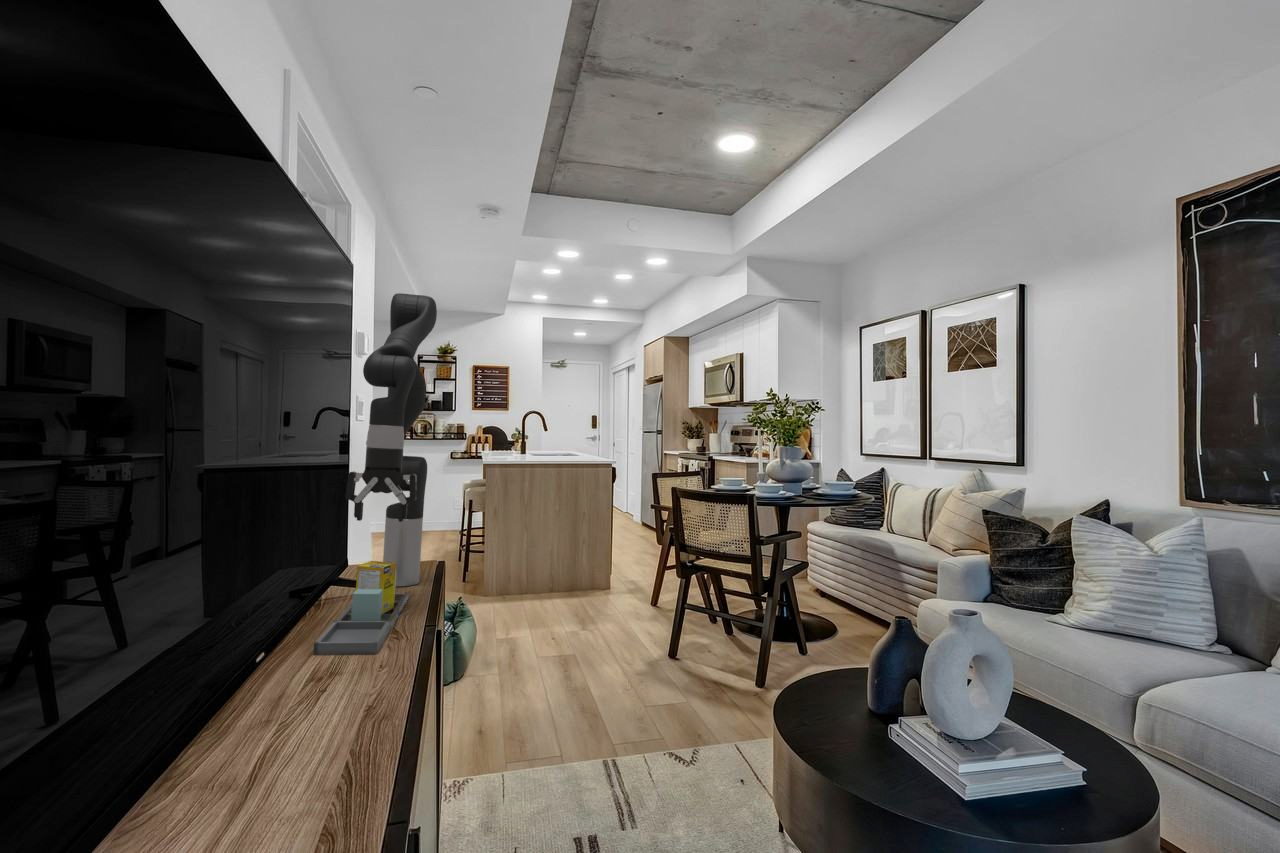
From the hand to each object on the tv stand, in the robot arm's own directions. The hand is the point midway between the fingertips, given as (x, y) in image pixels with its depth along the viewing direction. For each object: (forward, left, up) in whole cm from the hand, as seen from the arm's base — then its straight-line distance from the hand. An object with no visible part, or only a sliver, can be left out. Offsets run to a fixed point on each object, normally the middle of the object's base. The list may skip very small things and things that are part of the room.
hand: (380, 520), depth 139 cm
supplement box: (0, 0, -21) cm, 21 cm away
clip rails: (0, 0, -20) cm, 20 cm away
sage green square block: (+8, 0, -20) cm, 22 cm away
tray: (+19, 0, -20) cm, 28 cm away
